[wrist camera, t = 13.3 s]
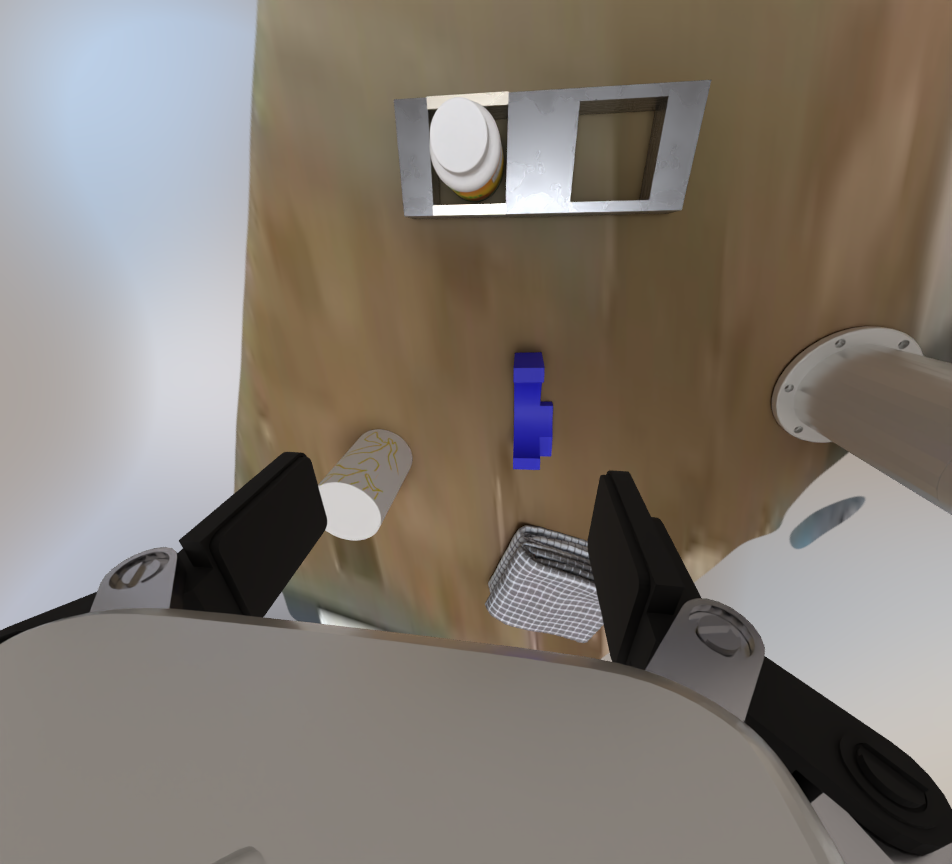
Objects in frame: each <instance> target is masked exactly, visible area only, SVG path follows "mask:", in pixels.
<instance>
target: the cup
mask: <svg viewBox="0 0 952 864" xmlns="http://www.w3.org/2000/svg"><path fill="white" fill-rule="evenodd" d="M411 465H412V453H411V450H410V448H409V446H408V445H407V443H406V442H405V441H404V440H403V439H402V438H401V437H399V436H398V435H396V434H395V433H393V432H390V431H387V430H381V429H376V430H370V431H368V432H366V433H364V434H363V435H362V436H361V437H360V438H359V439H358V440H357V441H356V442H355V444H354V445H353V446H352V447H351V448H350V449H349V450H348V452H347V453H346V454H345V455H344V456H343V457H342V458H341V460H340V461H339V462H338V463H337V464H336V465H335V466H334V467H333V469H332V470H331V471H330V472H329V473H328V474H327V475H326V477H325V478H324V479H323V480H322V481H321V482H320V483H319V485H318V487H319V491H320V495H321V498H322V502H323V505H324V509H325V513H326V516H327V527H326V529H325V530H326V531H327V532H329V533H330V534H332V535H334V536H337V537H339V538H342V539H347V540H363V539H367V538H369V537H371V536H373V535H374V534H375V533H376V532H377V531H378V529H379V527H380V525H381V524H382V522H383V520H384V518H385V516H386V514H387V512H388V510H389V508H390V506H391V504H392V502H393V500H394V498H395V497H396V495H397V493H398V491H399V489H400V487H401V485H402V483H403V481H404V479H405V477H406V475H407V473H408V471H409V470H410V468H411Z"/></svg>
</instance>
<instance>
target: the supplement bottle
mask: <svg viewBox="0 0 952 864" xmlns="http://www.w3.org/2000/svg"><path fill="white" fill-rule="evenodd" d="M430 156H431V160H432V164H433V166H434V169H435V171H436V173H437V174H438V176H439V177H440V179H441V180H442V181H443V182H444V183H445V184H446V185H447V186H448V187H449V188H450V189H452V190H453V191H454V192H455V193H456V194H457V195H458V196H459V197H461V198H462V199H464V200H467V201H470V202H478V201H482V200H485V199H487V198H488V197H490V196H491V195H492V194H493V193H494V192H495V191H496V189H497V188H498V186H499V184H500V182H501V179H502V176H503V172H504V156H503V150H502V145H501V140H500V134H499V130H498V127H497V125H496V122H495V120H494V119H493V117H492V115H491V114H490V113H489V111H488V110H487V109H486V108H484V107H483V106H482V105H480V104H479V103H477V102H474V101H471V100H469V99H466V98H463V97H454V98H451V99H449V100H447V101H445V102H444V103H443V104H441V105H440V107H439V108H438V109H437V111H436V112H435V114H434V116H433V119H432V122H431V126H430Z"/></svg>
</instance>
